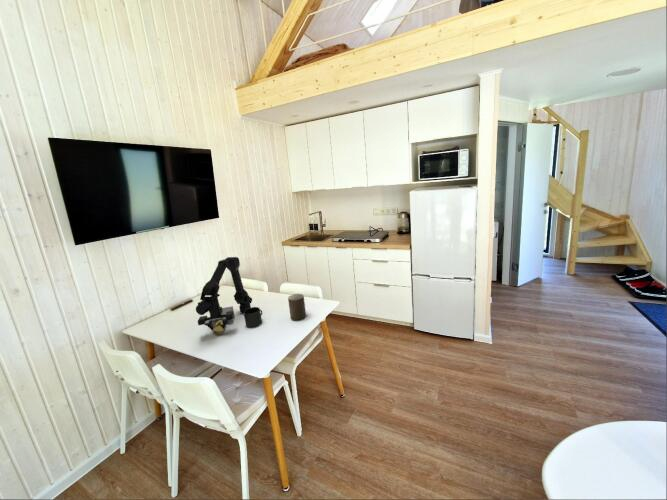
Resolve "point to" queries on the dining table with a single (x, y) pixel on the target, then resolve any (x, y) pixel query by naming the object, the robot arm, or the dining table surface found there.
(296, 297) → the pillar candle
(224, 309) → the block
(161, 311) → the dining table surface
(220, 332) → the gold cylindrical piece
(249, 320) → the mug
